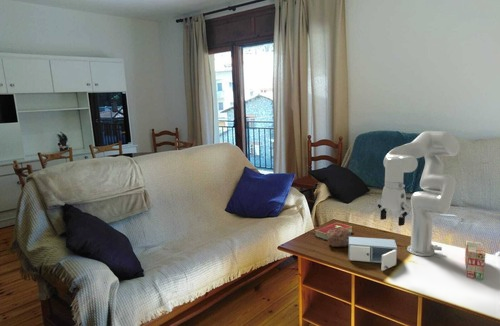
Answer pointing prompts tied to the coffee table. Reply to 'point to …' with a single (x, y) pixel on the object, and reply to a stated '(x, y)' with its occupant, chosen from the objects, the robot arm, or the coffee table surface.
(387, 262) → the left door
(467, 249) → the stack of blocks
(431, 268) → the coffee table surface
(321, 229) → the hardcover book
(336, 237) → the decorative rock
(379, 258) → the cabinet
